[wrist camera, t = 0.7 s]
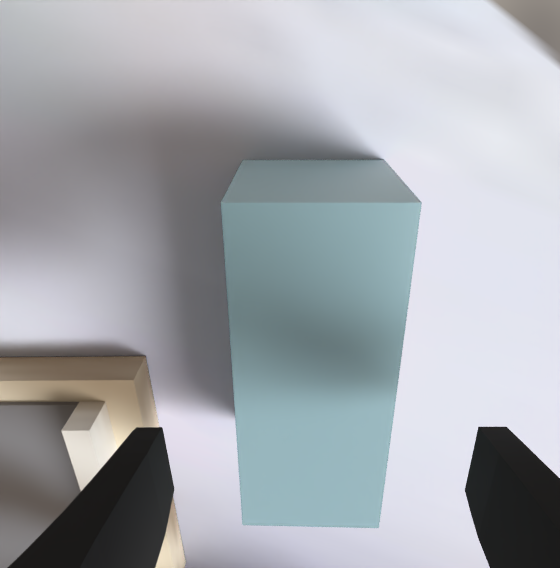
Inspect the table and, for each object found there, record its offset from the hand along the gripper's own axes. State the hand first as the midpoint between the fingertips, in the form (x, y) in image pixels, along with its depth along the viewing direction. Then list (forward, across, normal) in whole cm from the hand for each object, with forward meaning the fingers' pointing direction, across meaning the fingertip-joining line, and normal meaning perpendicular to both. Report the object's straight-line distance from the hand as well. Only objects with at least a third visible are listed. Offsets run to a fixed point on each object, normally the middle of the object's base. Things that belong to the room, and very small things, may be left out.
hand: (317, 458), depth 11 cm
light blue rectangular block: (+7, 0, 0) cm, 7 cm away
